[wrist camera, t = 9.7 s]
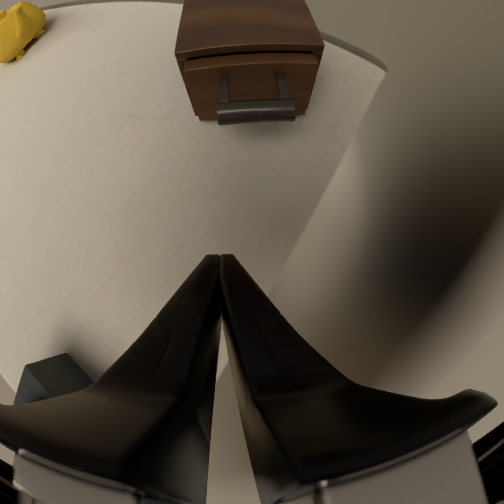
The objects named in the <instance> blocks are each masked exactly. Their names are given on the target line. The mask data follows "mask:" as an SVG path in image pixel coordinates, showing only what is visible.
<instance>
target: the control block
mask: <svg viewBox="0 0 504 504" xmlns="http://www.w3.org/2000/svg"><path fill="white" fill-rule="evenodd" d="M93 383H94V381H93V380H92V379H91V378H90V377H89V376H88V375H87V374H86V373H85V372H84V371H83V370H82V369H81V368H80V367H79V366H78V365H77V364H76V363H75V362H74V361H73V360H72V359H71V358H70V357H69V356H68V355H67V353H64V354H60V355H57V356H54V357H51V358H47V359H44V360H41V361H37V362H34V363H31V364H27V365H25V367H24V370H23V374H22V377H21V380H20V383H19V386H18V390H17V393H16V397H15V401H14V405H22V404H27V403H32V402H37V401H41V400H46V399H50V398H54V397H58V396H62V395H66V394H70V393H74V392H78V391H81V390H83V389H85V388H87V387H89V386H90V385H92V384H93Z"/></svg>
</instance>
